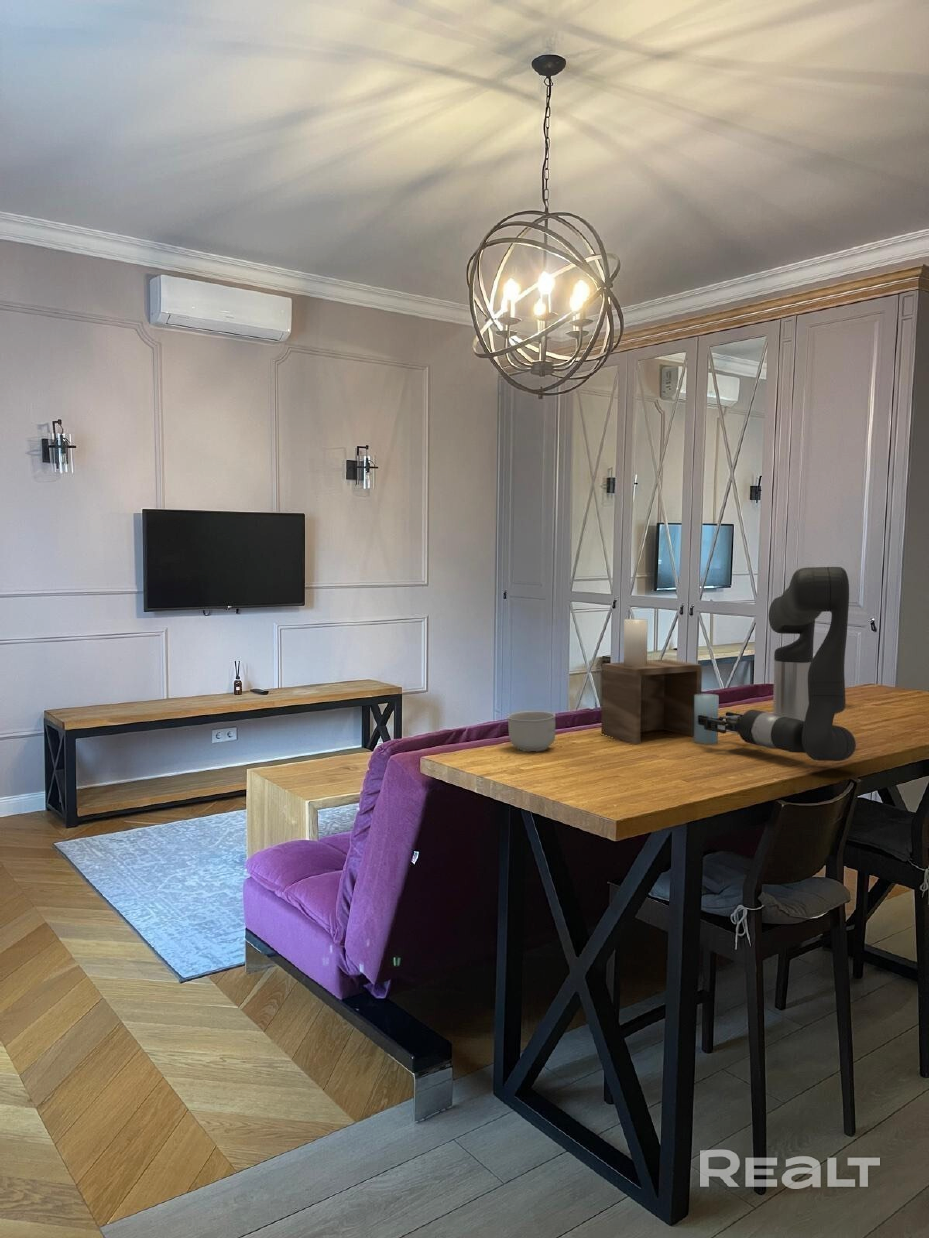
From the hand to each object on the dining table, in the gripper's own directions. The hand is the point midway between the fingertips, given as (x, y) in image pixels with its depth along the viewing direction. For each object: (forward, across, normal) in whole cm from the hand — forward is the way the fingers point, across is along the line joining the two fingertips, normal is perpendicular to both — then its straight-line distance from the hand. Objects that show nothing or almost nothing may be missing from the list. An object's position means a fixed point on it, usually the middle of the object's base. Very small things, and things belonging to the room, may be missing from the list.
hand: (712, 717), depth 211 cm
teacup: (+16, +40, +6) cm, 43 cm away
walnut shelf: (+14, +7, +6) cm, 17 cm away
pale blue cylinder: (+2, 0, +6) cm, 6 cm away
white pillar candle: (+14, +12, -12) cm, 22 cm away
